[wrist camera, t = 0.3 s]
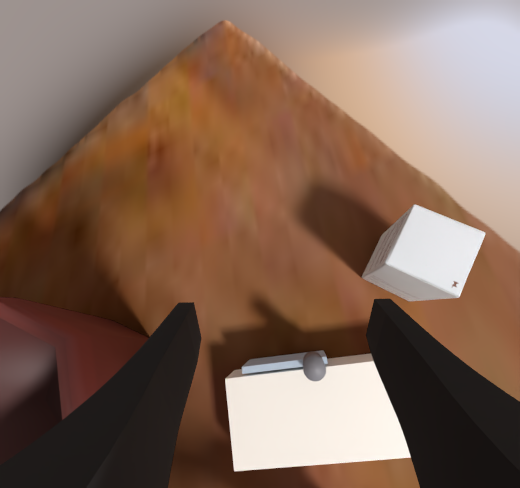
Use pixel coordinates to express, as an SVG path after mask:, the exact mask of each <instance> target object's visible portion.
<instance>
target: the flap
mask: <svg viewBox="0 0 520 488" xmlns="http://www.w3.org/2000/svg"><path fill="white" fill-rule="evenodd" d="M325 364H328V361H327V356H326V354H325V352H324V350H321V351H310V352H305V353H297V354H289V355H281V356H273V357H265V358H257V359H249V360H248V361H247V362H246V363H245V364H244V365H243V366H242V374H246V373H255V372H263V371H271V370H280V369H288V368H296V367H303V371H304V374H305V376H306V377H307V378H308V379H309V380H311V381H320V380H321V379H323V378H324V376H325V374H326V366H325Z"/></svg>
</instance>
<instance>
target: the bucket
mask: <svg viewBox="0 0 520 488" xmlns="http://www.w3.org/2000/svg"><path fill="white" fill-rule="evenodd" d="M148 339H149V338H148V337H146V336H144V335H142V334H140V333H138V332H136V331H134V330H131V329H129V328H127V327H125V326H123V325H121V324H119V323H117V322H115V321H113V320H109V319H105V318H100V317H96V316H92V315H88V314H83V313H79V312H75V311H71V310H66V309H62V308H58V307H54V306H49V305H45V304H41V303H36V302H32V301H28V300H24V299H19V298H7V297H0V465H1V464H3V463H4V462H6V461H7V460H9V459H10V458H12V457H13V456H14V455H16V454H17V453H19V452H20V451H22V450H23V449H24V448H26V447H27V446H28V445H30V444H31V443H33V442H34V441H35V440H37V439H38V438H39V437H41V436H42V435H43V434H45V433H46V432H47V431H49V430H50V429H51V428H53V427H54V426H55V425H57V424H58V423H59V422H60V421H62V420H63V419H64V418H65V417H67V416H68V415H69V414H70V413H72V412H73V411H74V410H75V409H76V408H78V407H79V406H80V405H81V404H82V403H84V402H85V401H86V400H87V399H88V398H89V397H91V396H92V395H93V394H94V393H95V392H96V391H97V390H99V389H100V388H101V387H102V386H103V385H104V384H105V383H106V382H107V381H108V380H109V379H110V378H111V377H113V376H114V375H115V374H116V373H117V372H118V371H119V370H120V369H121V368H122V367H123V366H124V365H125V364H126V363H127V361H128V360H129V359H130V358H131V357H132V356H133V355H134V354H135V353H136V352H137V351H138V350H139V349H140V348H141V347H142V346H143V344H144V343H145V342H146V341H147V340H148Z"/></svg>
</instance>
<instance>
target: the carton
mask: <svg viewBox="0 0 520 488" xmlns="http://www.w3.org/2000/svg"><path fill="white" fill-rule="evenodd" d="M327 361H328V364H325V366H326V374H325V376H324V378H323V379H321V380H320V381H311V380H309V379H308V378H307V377H306V376H305V374H304V371H303V367H296V368H288V369H280V370H271V371H263V372H255V373H246V374H242V369H239V370H234V371H233V372H232V373H231V374H230V375H229V376H228V377H226V378H225V384H226V394H227V404H228V414H229V424H230V435H231V445H232V455H233V465H234V471H246V470H258V469H271V468H283V467H296V466H309V465H321V464H334V463H346V462H359V461H372V460H384V459H397V458H409V457H411V456H410V453H409V450H408V446H407V443H406V440H405V437H404V434H403V431H402V429H401V426H400V423H399V421H398V418H397V416H396V413H395V411H394V409H393V406H392V404H391V402H390V399H389V397H388V395H387V392H386V390H385V387H384V385H383V383H382V380H381V378H380V376H379V373H378V371H377V368H376V366H375V363H374V361H373V358H372V355H371V353H370V354H362V355H354V356H345V357H337V358H329V359H327Z"/></svg>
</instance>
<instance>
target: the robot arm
mask: <svg viewBox="0 0 520 488" xmlns="http://www.w3.org/2000/svg"><path fill="white" fill-rule="evenodd" d="M366 337H367V340H368V344H369V348H370V351H371V355H372V358H373V361H374V363H375V366H376V368H377V371H378V373H379V376H380V378H381V380H382V383H383V385H384V387H385V390H386V392H387V395H388V397H389V399H390V402H391V404H392V406H393V409H394V411H395V413H396V416H397V418H398V421H399V423H400V426H401V429H402V431H403V434H404V437H405V440H406V443H407V446H408V450H409V453H410V456H411V459H412V462H413V465H414V469H415V472H416V475H417V478H418V482H419V485H420V488H520V402H519V401H518V400H516V399H515V398H513V397H512V396H510V395H509V394H507V393H506V392H504V391H503V390H501V389H500V388H499V387H497V386H496V385H494V384H493V383H491V382H490V381H489V380H487V379H486V378H484V377H483V376H481V375H480V374H479V373H477V372H476V371H475V370H473V369H472V368H471V367H469V366H468V365H467V364H465V363H464V362H463V361H462V360H460V359H459V358H458V357H457V356H455V355H454V354H453V353H452V352H450V351H449V350H448V349H447V348H445V347H444V346H443V345H442V344H441V343H439V342H438V341H437V340H436V339H435V338H433V337H432V336H431V335H430V334H429V333H428V332H427V331H425V330H424V329H423V328H422V327H421V326H420V325H419V324H418V323H416V322H415V321H414V320H413V319H412V318H411V317H410V316H409V315H408V314H406V313H405V312H404V311H403V310H402V309H401V308H400V307H399V306H398V305H397V304H395V303H394V302H393V301H392V300H391V299H374V303H373V307H372V312H371V316H370V320H369V324H368V329H367V333H366ZM200 342H201V334H200V329H199V325H198V320H197V315H196V311H195V306H194V303H178V304H177V305H176V306H175V308H174V309H173V310H172V311H171V312H170V314H169V315H168V316H167V317H166V319H165V320H164V321H163V322H162V323H161V325H160V326H159V327H158V328H157V329H156V331H155V332H154V333H153V334H152V335H151V336H150V338H149V339H148V340H147V341H146V342H145V343H144V344H143V346H142V347H141V348H140V349H139V350H138V351H137V352H136V353H135V354H134V355H133V356H132V357H131V358H130V359H129V360H128V361H127V363H126V364H125V365H124V366H123V367H122V368H121V369H120V370H119V371H118V372H117V373H116V374H115V375H114V376H113V377H111V378H110V379H109V380H108V381H107V382H106V383H105V384H104V385H103V386H102V387H101V388H100V389H99V390H97V391H96V392H95V393H94V394H93V395H92V396H91V397H89V398H88V399H87V400H86V401H85V402H84V403H82V404H81V405H80V406H79V407H78V408H76V409H75V410H74V411H73V412H72V413H70V414H69V415H68V416H67V417H65V418H64V419H63V420H62V421H60V422H59V423H58V424H57V425H55V426H54V427H53V428H51V429H50V430H49V431H47V432H46V433H45V434H43V435H42V436H41V437H39V438H38V439H37V440H35V441H34V442H33V443H31V444H30V445H28V446H27V447H26V448H24V449H23V450H22V451H20V452H19V453H17V454H16V455H14V456H13V457H12V458H10V459H9V460H7V461H6V462H4V463H3V464H1V465H0V488H168V483H169V477H170V471H171V466H172V460H173V455H174V450H175V445H176V439H177V434H178V430H179V426H180V422H181V418H182V415H183V411H184V408H185V404H186V401H187V397H188V394H189V390H190V387H191V383H192V380H193V376H194V372H195V369H196V365H197V361H198V355H199V349H200Z"/></svg>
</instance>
